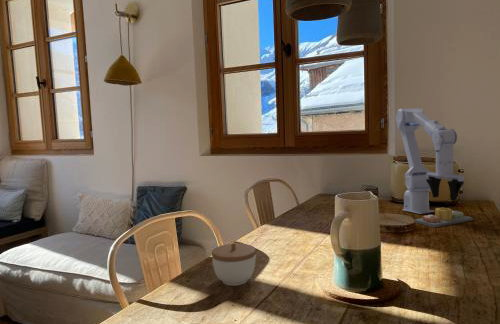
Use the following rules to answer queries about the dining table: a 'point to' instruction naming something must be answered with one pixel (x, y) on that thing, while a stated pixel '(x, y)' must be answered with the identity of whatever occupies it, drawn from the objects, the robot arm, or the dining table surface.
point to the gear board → (436, 222)
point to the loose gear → (444, 213)
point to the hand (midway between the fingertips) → (444, 198)
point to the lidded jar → (234, 263)
